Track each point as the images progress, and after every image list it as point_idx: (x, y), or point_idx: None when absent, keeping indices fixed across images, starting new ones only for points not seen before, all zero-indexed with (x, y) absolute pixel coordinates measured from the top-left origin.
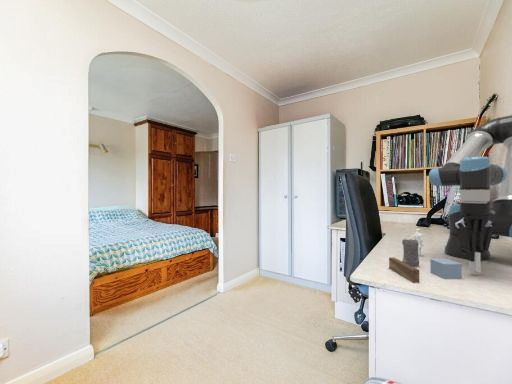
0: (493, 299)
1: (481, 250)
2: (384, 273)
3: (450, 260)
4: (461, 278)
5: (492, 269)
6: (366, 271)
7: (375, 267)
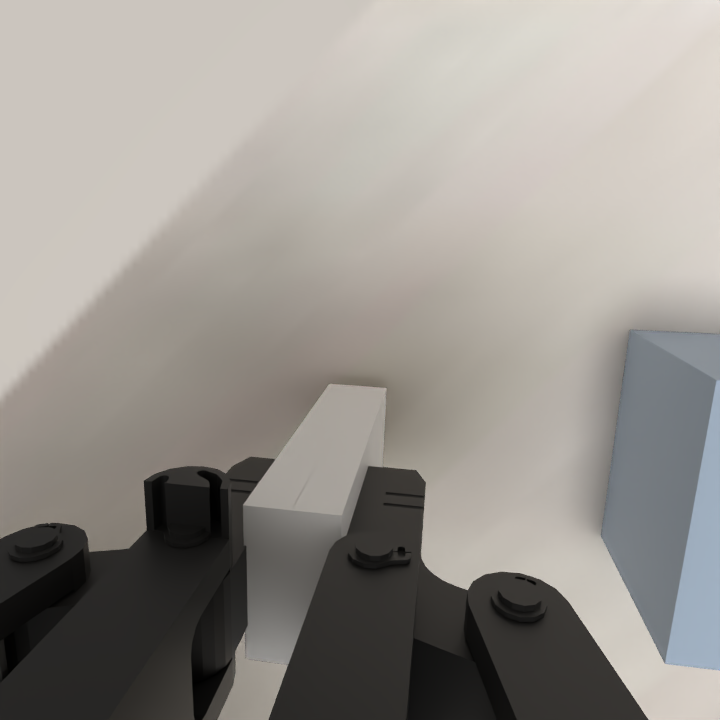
0: None
1: (195, 533)
2: None
3: (711, 575)
4: (632, 331)
5: None
6: None
7: None
